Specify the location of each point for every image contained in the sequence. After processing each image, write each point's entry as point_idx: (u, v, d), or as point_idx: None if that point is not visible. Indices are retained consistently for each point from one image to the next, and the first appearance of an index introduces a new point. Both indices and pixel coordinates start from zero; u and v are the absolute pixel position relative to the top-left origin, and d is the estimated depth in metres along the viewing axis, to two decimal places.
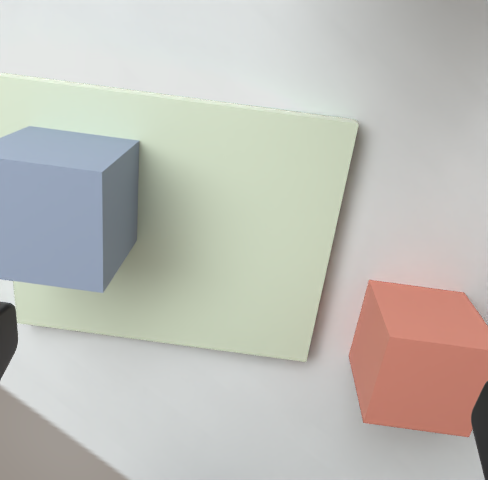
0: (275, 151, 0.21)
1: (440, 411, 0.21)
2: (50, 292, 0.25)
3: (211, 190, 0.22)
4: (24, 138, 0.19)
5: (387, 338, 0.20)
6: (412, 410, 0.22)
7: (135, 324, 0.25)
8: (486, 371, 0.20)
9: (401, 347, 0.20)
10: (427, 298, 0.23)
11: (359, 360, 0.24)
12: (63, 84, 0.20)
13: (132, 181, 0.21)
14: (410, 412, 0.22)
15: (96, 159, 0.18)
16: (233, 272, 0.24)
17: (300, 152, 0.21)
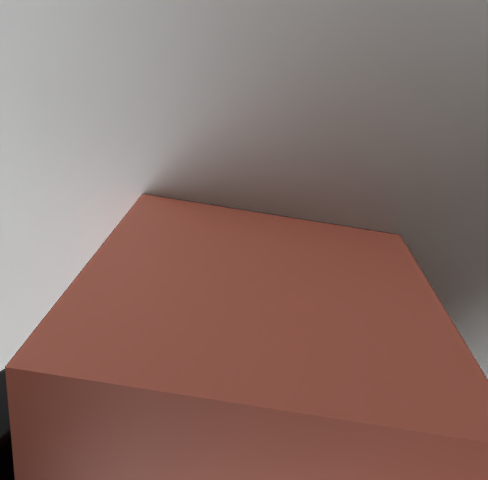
0: None
1: None
2: None
3: None
4: None
5: None
6: None
7: None
8: (121, 422, 0.05)
9: None
10: None
11: None
12: None
13: None
14: None
15: None
16: None
17: None
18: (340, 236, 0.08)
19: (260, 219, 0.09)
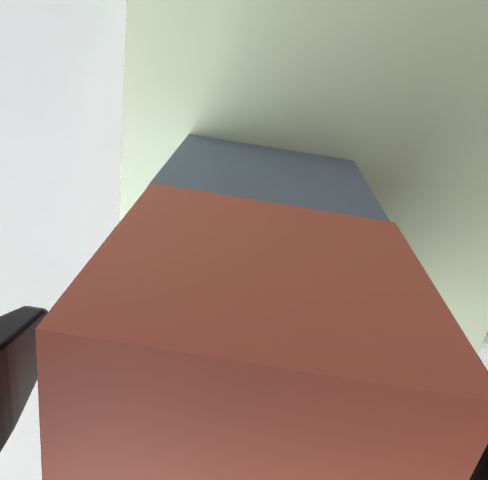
0: None
1: None
2: None
3: (270, 18, 0.13)
4: None
5: None
6: None
7: None
8: (139, 380, 0.05)
9: None
10: None
11: None
12: None
13: (239, 150, 0.13)
14: None
15: None
16: None
17: None
18: (338, 223, 0.09)
19: (263, 207, 0.09)
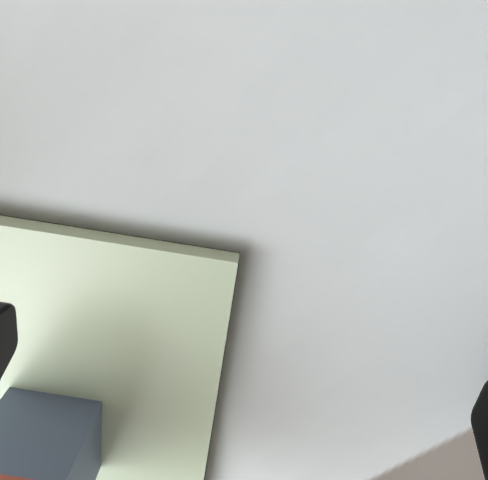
0: None
1: None
2: (165, 470, 0.27)
3: (42, 340, 0.23)
4: None
5: None
6: None
7: (195, 415, 0.25)
8: None
9: None
10: None
11: None
12: None
13: (30, 405, 0.24)
14: None
15: None
16: (125, 328, 0.23)
17: None
18: None
19: None
